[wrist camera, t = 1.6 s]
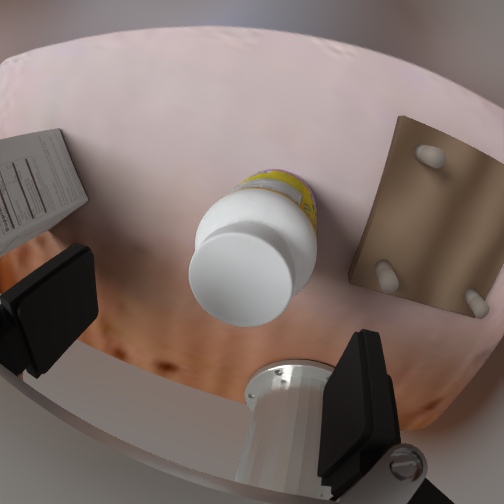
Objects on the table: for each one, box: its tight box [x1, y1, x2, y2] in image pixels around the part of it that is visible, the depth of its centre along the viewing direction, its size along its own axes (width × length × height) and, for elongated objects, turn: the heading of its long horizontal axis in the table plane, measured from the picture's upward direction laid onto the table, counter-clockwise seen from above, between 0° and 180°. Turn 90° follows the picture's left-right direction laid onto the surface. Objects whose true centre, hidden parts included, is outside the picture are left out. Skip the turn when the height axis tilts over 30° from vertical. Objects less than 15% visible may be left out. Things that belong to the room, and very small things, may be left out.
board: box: [348, 116, 504, 319], centre depth 20 cm, size 14×14×4 cm
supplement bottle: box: [189, 169, 317, 327], centre depth 19 cm, size 7×7×13 cm
